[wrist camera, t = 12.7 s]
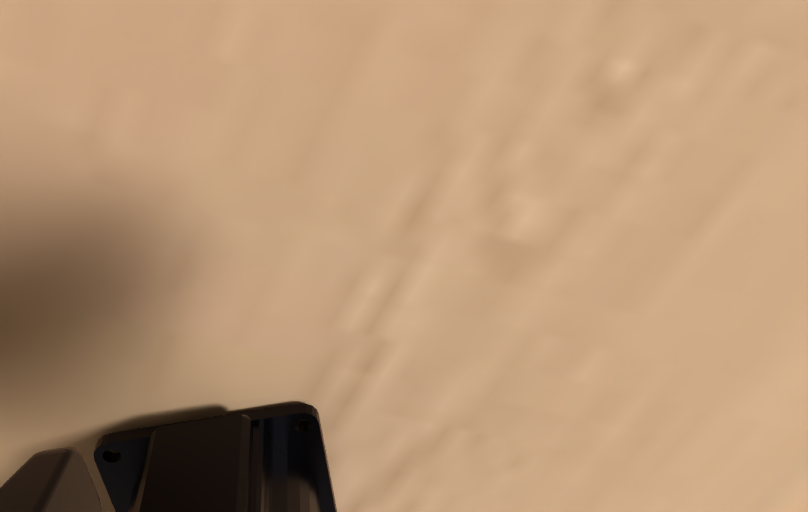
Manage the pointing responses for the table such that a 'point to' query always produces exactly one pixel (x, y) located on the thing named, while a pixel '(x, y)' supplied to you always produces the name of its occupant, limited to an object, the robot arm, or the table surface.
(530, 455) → the table surface
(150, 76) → the table surface
